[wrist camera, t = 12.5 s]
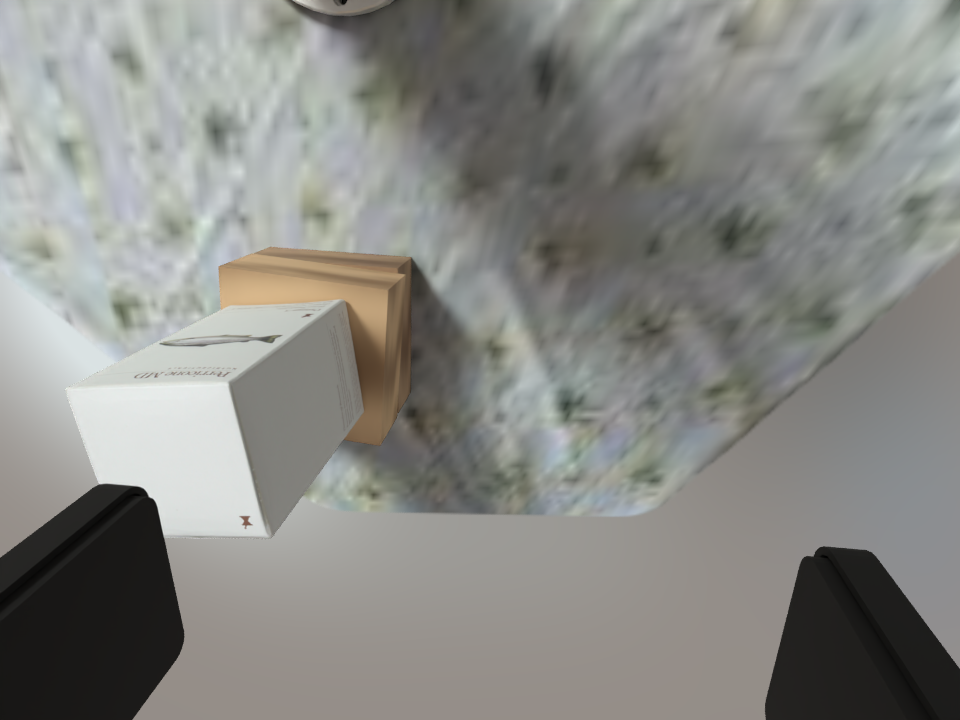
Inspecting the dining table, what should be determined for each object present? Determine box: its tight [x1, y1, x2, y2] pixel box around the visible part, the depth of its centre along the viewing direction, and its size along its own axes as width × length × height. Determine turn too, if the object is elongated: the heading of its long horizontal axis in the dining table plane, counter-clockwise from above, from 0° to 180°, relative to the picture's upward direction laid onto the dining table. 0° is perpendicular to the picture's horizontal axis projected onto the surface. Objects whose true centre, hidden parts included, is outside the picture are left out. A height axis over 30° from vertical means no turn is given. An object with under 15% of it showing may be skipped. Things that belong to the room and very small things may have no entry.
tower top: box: [219, 254, 406, 446], centre depth 37 cm, size 10×10×4 cm
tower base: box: [254, 247, 411, 413], centre depth 41 cm, size 10×10×4 cm
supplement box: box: [65, 299, 364, 539], centre depth 30 cm, size 7×7×13 cm
